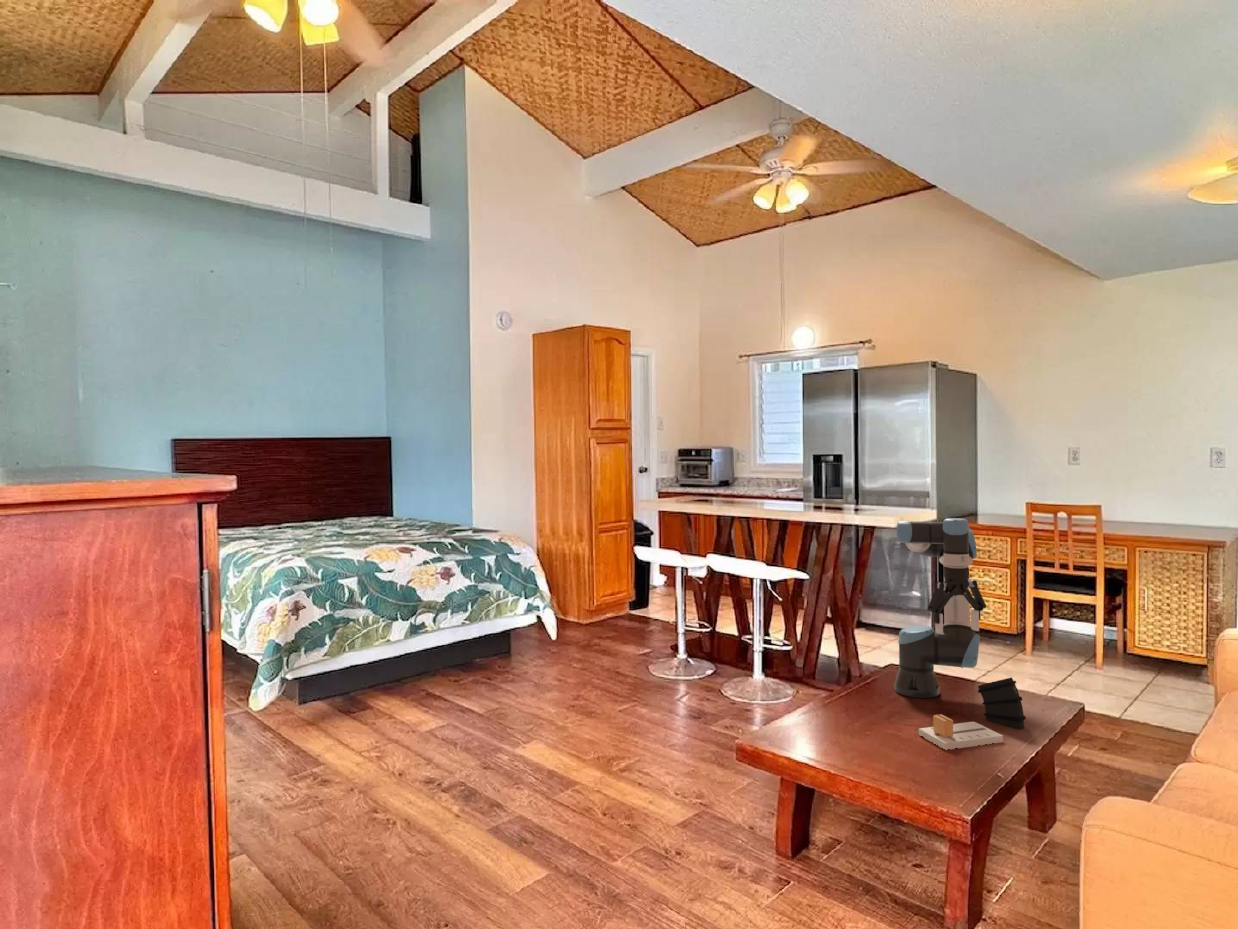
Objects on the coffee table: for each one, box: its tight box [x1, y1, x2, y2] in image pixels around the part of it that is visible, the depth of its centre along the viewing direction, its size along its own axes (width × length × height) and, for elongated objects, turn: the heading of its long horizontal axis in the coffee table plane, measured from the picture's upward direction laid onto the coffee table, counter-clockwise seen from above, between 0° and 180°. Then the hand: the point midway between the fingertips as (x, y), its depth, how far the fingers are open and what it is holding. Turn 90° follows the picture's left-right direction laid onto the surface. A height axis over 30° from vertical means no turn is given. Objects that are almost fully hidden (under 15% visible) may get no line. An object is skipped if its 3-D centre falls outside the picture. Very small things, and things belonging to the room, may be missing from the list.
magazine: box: [977, 677, 1027, 730], centre depth 231 cm, size 4×13×15 cm, turn 38°
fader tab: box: [932, 713, 954, 737], centre depth 218 cm, size 5×3×5 cm, turn 14°
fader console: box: [918, 721, 1004, 751], centre depth 220 cm, size 12×20×2 cm, turn 104°
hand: (957, 631), depth 235 cm, fingers open, 13 cm apart
